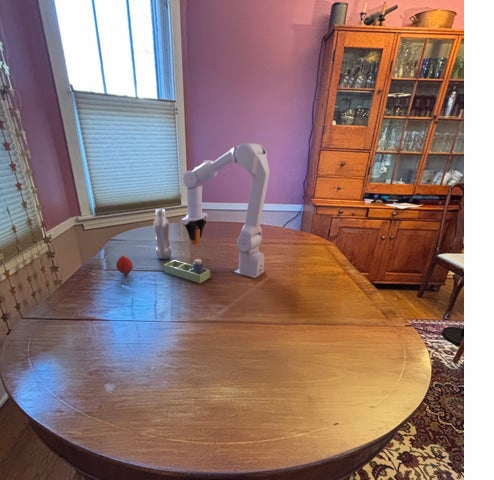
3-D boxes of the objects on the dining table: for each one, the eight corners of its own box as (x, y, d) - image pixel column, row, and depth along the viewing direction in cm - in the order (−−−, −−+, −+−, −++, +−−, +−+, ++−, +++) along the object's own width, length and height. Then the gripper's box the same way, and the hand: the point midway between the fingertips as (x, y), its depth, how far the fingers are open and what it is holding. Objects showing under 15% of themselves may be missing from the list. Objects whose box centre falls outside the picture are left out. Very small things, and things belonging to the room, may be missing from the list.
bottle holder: (210, 278, 112) (210, 269, 110) (200, 284, 107) (199, 275, 105) (174, 268, 119) (174, 259, 118) (164, 273, 115) (163, 264, 113)
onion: (114, 275, 112) (111, 255, 107) (125, 270, 116) (122, 250, 112) (126, 279, 109) (123, 258, 105) (137, 273, 114) (134, 253, 110)
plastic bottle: (173, 255, 132) (170, 208, 121) (169, 261, 126) (165, 212, 115) (159, 255, 132) (154, 208, 121) (154, 260, 126) (149, 211, 116)
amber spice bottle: (201, 243, 126) (201, 226, 122) (196, 245, 123) (196, 228, 120) (195, 241, 127) (194, 224, 124) (189, 243, 125) (189, 226, 121)
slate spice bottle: (205, 277, 111) (205, 259, 107) (199, 280, 108) (198, 262, 105) (197, 275, 113) (197, 257, 109) (191, 278, 110) (190, 260, 106)
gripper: (198, 200, 124) (198, 233, 131) (174, 205, 114) (176, 241, 121) (211, 202, 121) (211, 236, 128) (189, 208, 111) (190, 244, 118)
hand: (195, 238), depth 124 cm, fingers closed on amber spice bottle, 3 cm apart
